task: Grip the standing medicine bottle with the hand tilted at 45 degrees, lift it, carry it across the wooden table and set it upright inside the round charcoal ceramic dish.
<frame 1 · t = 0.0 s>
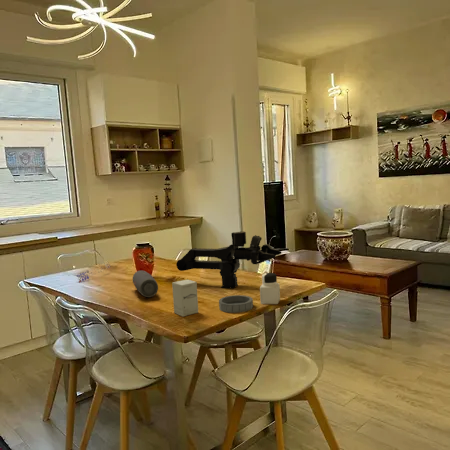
hand: (278, 254, 197), 17 cm above the table, tool horizontal, fingers open, 9 cm apart
supplement box: (186, 313, 172), on the table
round dish: (236, 307, 175), on the table
bluetooth speaker: (145, 294, 205), on the table
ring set: (96, 278, 247), on the table
medicine bottle: (270, 302, 181), on the table
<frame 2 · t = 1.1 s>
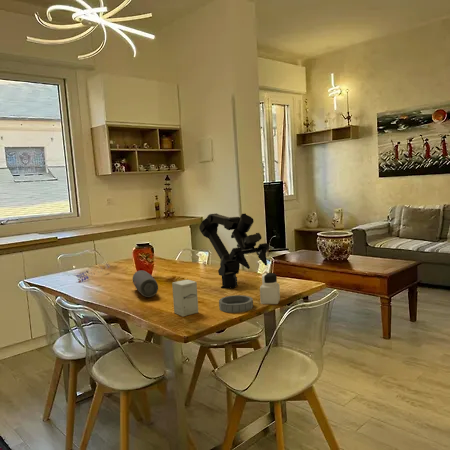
hand: (258, 266, 186), 14 cm above the table, tool tilted 45°, fingers open, 9 cm apart
nothing on the table moved.
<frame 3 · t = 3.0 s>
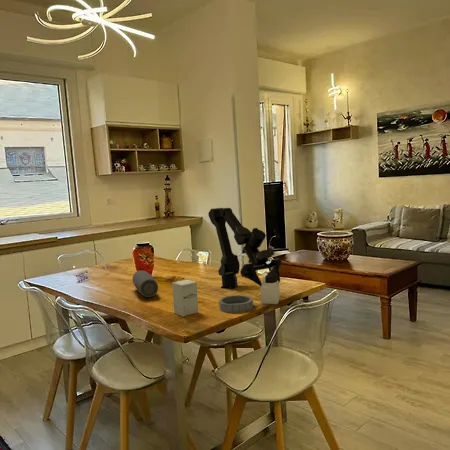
hand: (270, 283, 178), 8 cm above the table, tool tilted 45°, fingers closed on medicine bottle, 9 cm apart
medicine bottle: (270, 301, 180), on the table, touching gripper
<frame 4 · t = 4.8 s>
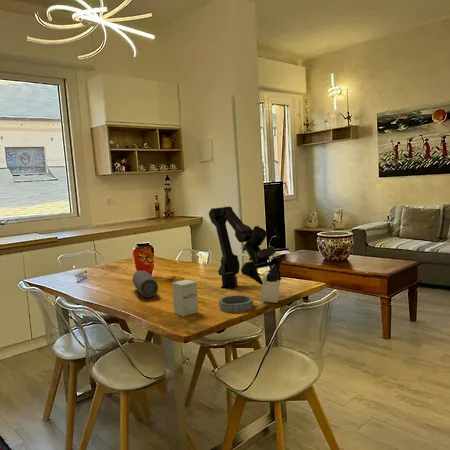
hand: (271, 282, 178), 9 cm above the table, tool tilted 45°, fingers closed on medicine bottle, 9 cm apart
medicine bottle: (269, 299, 181), point 1 cm above the table, touching gripper
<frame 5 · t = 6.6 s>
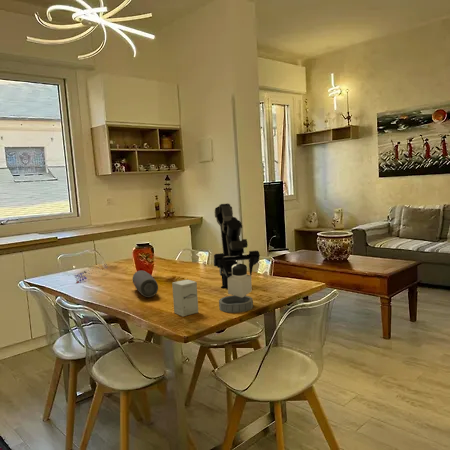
hand: (239, 275, 173), 13 cm above the table, tool tilted 45°, fingers closed on medicine bottle, 9 cm apart
medicine bottle: (239, 293, 175), point 6 cm above the table, touching gripper
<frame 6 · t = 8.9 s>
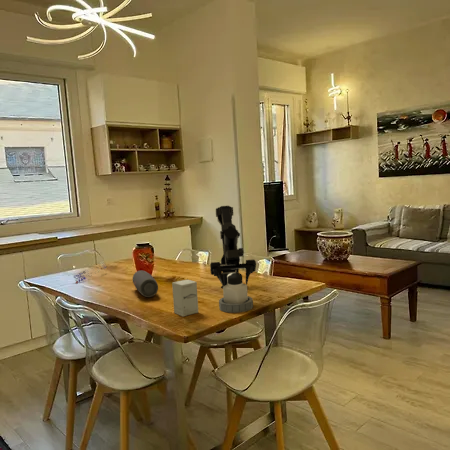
hand: (235, 284, 173), 10 cm above the table, tool tilted 45°, fingers closed on medicine bottle, 9 cm apart
medicine bottle: (235, 301, 175), point 2 cm above the table, touching gripper
when the fingers open (10 cm above the table, at t = 10.1 s): medicine bottle drops 2 cm, resting on round dish.
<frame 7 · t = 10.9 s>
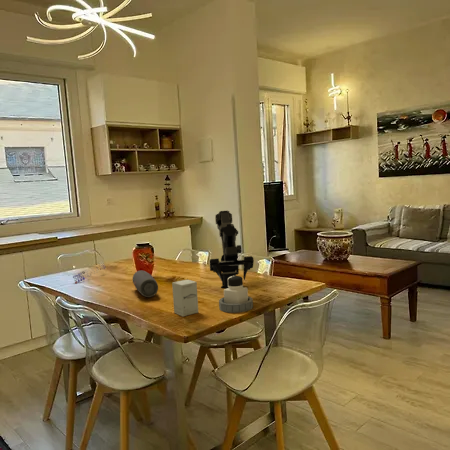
hand: (233, 280, 180), 10 cm above the table, tool tilted 45°, fingers open, 9 cm apart
medicine bottle: (236, 306, 176), resting on round dish
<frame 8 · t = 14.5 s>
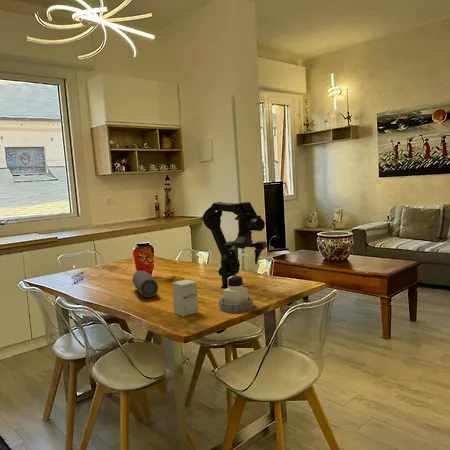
hand: (246, 263, 197), 13 cm above the table, tool pointing down, fingers open, 9 cm apart
at the end: medicine bottle 0.6 cm off-centre on the round dish, point 0.4 cm above the round dish's base; medicine bottle tilted 0°; the gripper is holding nothing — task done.
